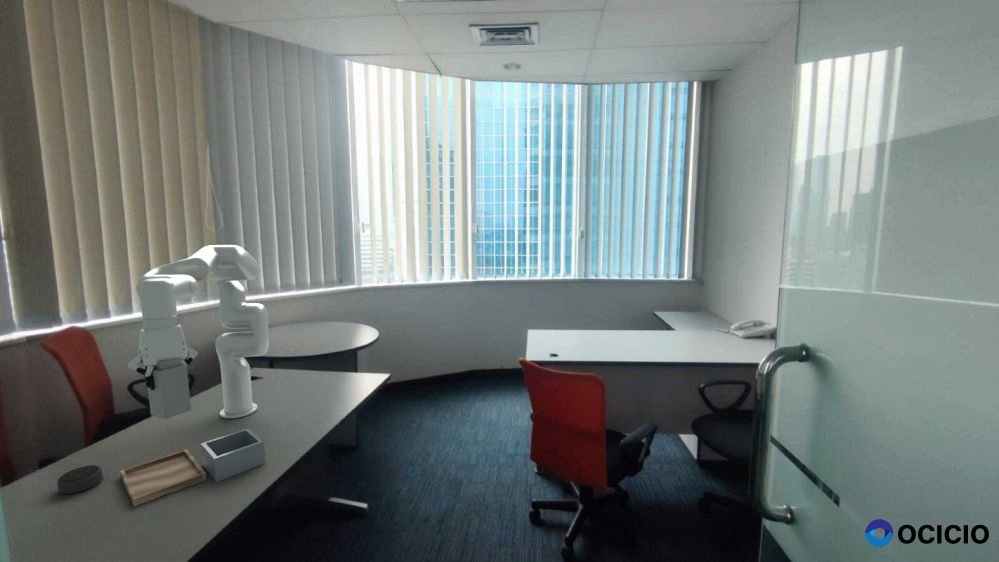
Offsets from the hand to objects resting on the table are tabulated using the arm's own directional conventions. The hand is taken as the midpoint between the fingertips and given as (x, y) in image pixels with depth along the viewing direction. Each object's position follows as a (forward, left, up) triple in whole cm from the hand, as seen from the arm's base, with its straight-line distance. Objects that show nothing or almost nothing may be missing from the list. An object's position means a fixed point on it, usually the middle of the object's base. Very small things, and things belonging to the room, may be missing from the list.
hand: (167, 384), depth 121 cm
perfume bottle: (0, 0, -8) cm, 8 cm away
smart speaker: (-14, -19, -28) cm, 37 cm away
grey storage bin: (+6, +13, -28) cm, 31 cm away
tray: (-1, -3, -28) cm, 28 cm away
